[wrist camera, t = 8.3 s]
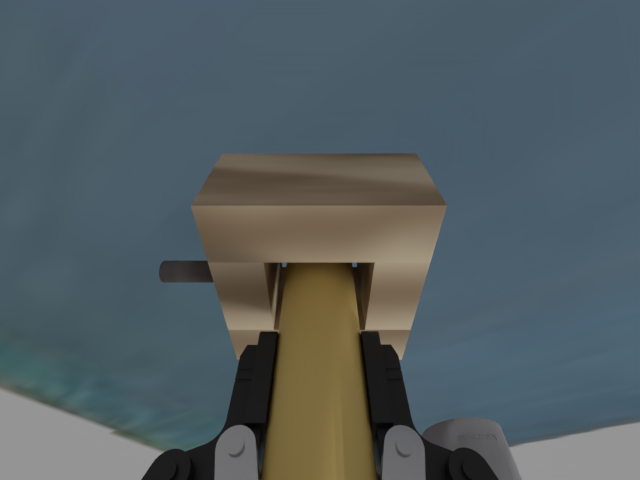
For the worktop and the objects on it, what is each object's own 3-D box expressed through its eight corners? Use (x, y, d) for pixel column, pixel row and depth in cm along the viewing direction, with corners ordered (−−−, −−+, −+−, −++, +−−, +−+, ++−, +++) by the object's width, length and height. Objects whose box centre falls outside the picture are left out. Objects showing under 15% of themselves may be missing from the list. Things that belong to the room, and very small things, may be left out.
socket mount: (388, 296, 23) (402, 359, 19) (203, 296, 23) (179, 359, 19) (416, 153, 16) (447, 205, 12) (154, 153, 16) (101, 205, 12)
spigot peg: (349, 283, 19) (390, 694, 8) (289, 283, 19) (246, 694, 8) (353, 235, 16) (419, 719, 6) (285, 235, 16) (217, 719, 6)
